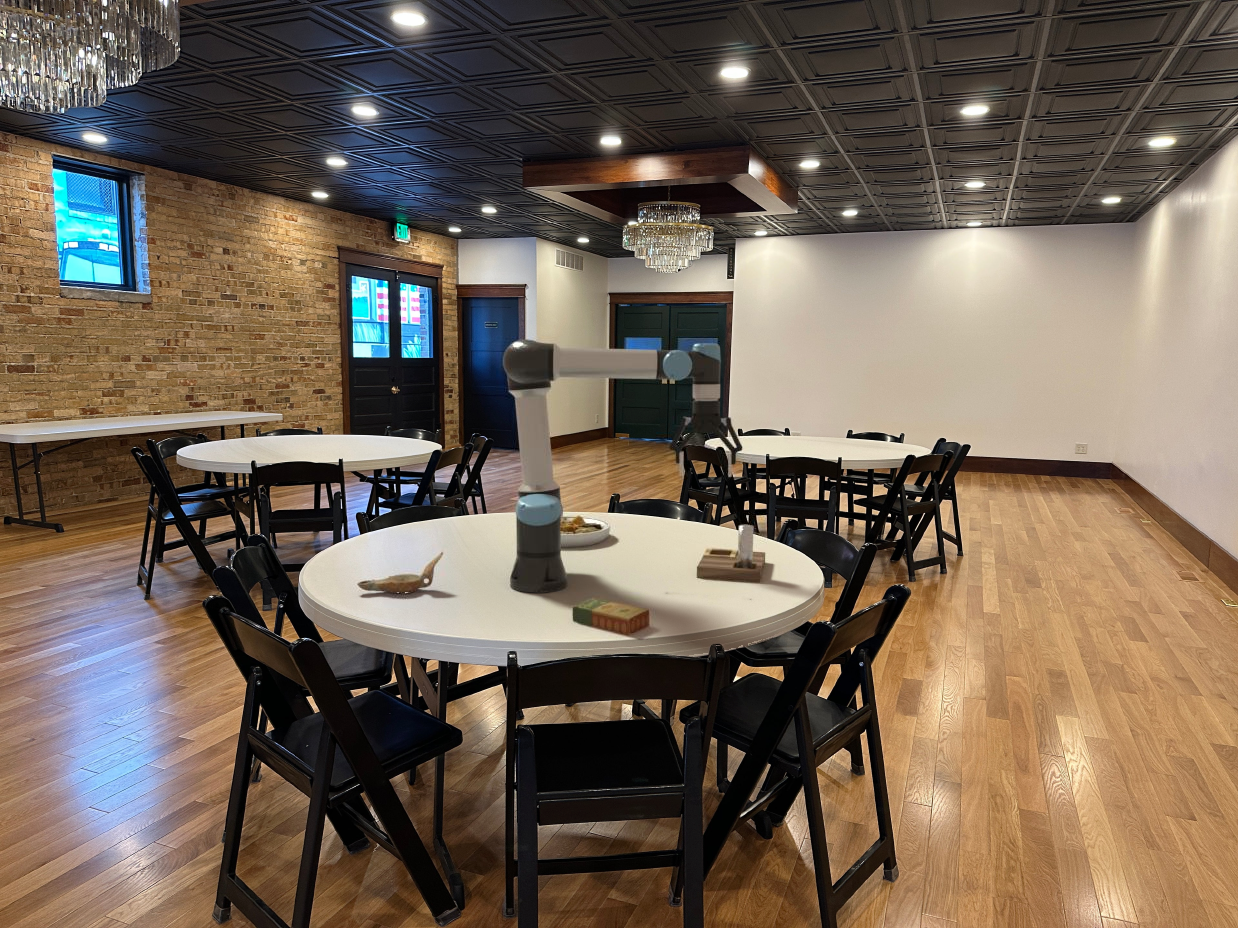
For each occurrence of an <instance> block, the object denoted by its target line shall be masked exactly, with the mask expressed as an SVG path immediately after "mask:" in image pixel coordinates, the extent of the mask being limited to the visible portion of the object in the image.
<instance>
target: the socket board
mask: <svg viewBox="0 0 1238 928" xmlns="http://www.w3.org/2000/svg"><path fill="white" fill-rule="evenodd" d="M765 563H766V552H763V551H753V560H752V569H746V568H737V567H738V549H727V548H726V549H725V548H714V547H713V548H711V547H710V548H709V547H707V548H706V550H705V551H704V553H703V555H702V557H701V559H700V561H699V563H697V564H698V565H697V566H696V579H706V580H721V581H722V580H723V581H734V582H736V581H737V582H749V583H761V580H762V575H763V572H764V568H765Z"/></svg>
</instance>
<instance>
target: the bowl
mask: <svg viewBox="0 0 1238 928" xmlns="http://www.w3.org/2000/svg"><path fill="white" fill-rule="evenodd" d="M610 532H611V524H610V523H609V522H608V521H606V520H603V519H599V518H593V517H587V516H581V515H576V516H573V515H572V516H571V515H570V516H569V515H565V516H564V515H563V516H562V520H561V548H579V547H586V546H592V545H596V544H598V543H601V542H602V541H604V540H605V539H606V538H607V537H608V536H609V534H610Z"/></svg>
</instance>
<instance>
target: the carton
mask: <svg viewBox="0 0 1238 928" xmlns="http://www.w3.org/2000/svg"><path fill="white" fill-rule="evenodd" d="M571 617H572V622H574V623H578V624H581V625H587V626H590V627H594V628H598V629H602V630H606V631H609V632H614V633H618V634H622V635H626V636H631V635H633V634H635V633H637V632H639V631H641V630H643V629H645V628H647V627H649V626H650V610H649V609H647V608H642V607H638V606H633V605H629V604H623V603H621V602H616V601H611V600H605V599H600V598H597V597H593V598H590V599H587V600H585V601H581V602H580V603H578V604H575V605H573V606H572V616H571Z"/></svg>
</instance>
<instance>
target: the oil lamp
mask: <svg viewBox="0 0 1238 928" xmlns="http://www.w3.org/2000/svg"><path fill="white" fill-rule="evenodd" d="M443 555H444V551H441V552H440V553H439V555H437V556H436V557H435V558H434V559H432V560H431V561H430V562H429V563H428V564H427V565H426V566H425V568H424V569H423V571H422V572H421V574H420V575H418V574H412V573H402V574H396V575H389V576H388V577H387V578H386V577H385V578H383V579H377V580H376V579H371V580H361V581H359V582H358V583H356V584H357V586H358V587H359V588H360V589H361V590H365V591H369V592H372V591H375V592H384V591H389V592H388V593H393V592H399V593H405V592H412V591H414V592H416V591H417V590H418V589H423V588H428V587H430V586H431V585H432V583H433V581H434V573H435V572H434V570H435V566H436V565H438V564H437V563H438V562H439V561H440V560H441V558H442V557H443ZM425 580H428V582H425ZM415 590H416V591H415ZM412 593H413V592H412Z"/></svg>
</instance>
